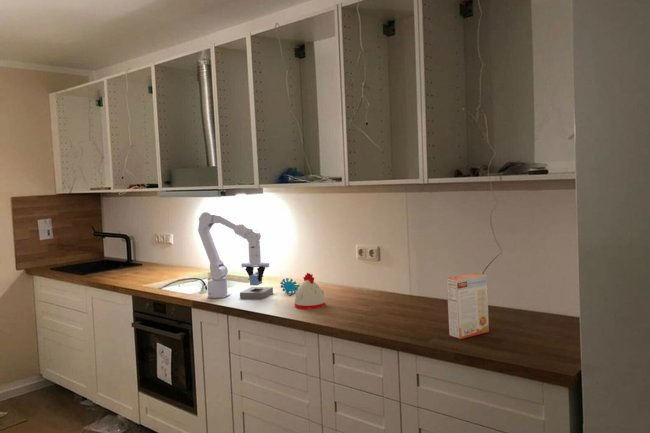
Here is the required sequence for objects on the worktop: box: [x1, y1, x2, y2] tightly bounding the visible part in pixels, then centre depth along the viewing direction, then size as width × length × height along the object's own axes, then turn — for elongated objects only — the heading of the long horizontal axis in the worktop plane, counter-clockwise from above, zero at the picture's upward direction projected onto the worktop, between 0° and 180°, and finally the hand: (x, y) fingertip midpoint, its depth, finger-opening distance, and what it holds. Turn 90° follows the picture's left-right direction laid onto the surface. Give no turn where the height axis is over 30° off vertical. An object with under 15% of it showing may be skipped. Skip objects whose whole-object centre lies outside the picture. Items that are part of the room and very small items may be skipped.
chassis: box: [239, 286, 274, 300], centre depth 264 cm, size 12×14×3 cm
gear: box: [280, 277, 301, 295], centre depth 268 cm, size 11×6×10 cm
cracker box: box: [446, 272, 490, 340], centre depth 183 cm, size 14×6×21 cm, turn 118°
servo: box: [247, 271, 264, 286], centre depth 264 cm, size 4×10×6 cm, turn 164°
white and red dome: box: [294, 272, 326, 310], centre depth 238 cm, size 14×14×15 cm
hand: (256, 281), depth 264 cm, fingers closed on servo, 4 cm apart
